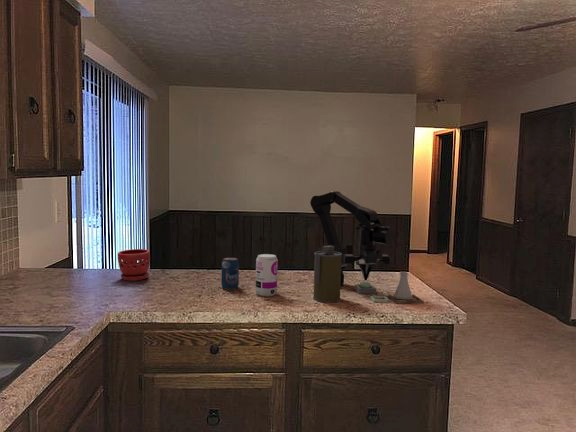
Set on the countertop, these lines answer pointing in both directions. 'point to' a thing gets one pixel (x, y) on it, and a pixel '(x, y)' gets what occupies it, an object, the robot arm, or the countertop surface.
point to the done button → (365, 284)
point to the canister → (327, 275)
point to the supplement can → (266, 274)
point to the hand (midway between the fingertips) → (365, 280)
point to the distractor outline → (379, 300)
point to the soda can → (230, 273)
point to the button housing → (365, 289)
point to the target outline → (407, 300)
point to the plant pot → (134, 264)
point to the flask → (403, 288)
